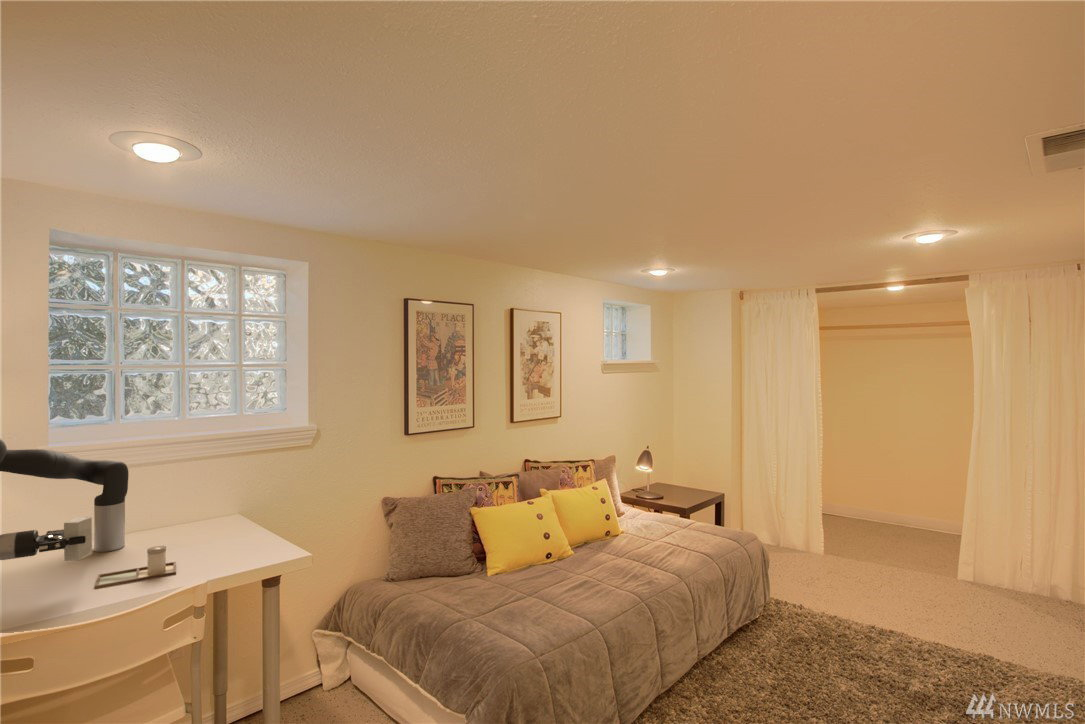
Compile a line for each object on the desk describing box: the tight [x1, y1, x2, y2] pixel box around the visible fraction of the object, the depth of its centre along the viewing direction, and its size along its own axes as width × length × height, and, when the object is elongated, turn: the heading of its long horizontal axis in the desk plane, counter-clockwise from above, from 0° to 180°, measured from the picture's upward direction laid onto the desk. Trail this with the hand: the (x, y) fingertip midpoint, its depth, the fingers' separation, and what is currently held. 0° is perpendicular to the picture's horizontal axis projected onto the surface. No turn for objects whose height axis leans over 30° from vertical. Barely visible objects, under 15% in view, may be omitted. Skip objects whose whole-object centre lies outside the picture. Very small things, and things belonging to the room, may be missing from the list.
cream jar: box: [146, 545, 167, 575], centre depth 185 cm, size 5×5×8 cm
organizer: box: [94, 561, 177, 589], centre depth 183 cm, size 11×21×2 cm, turn 124°
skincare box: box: [63, 516, 93, 562], centre depth 172 cm, size 6×4×12 cm
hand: (87, 535), depth 174 cm, fingers closed on skincare box, 7 cm apart
